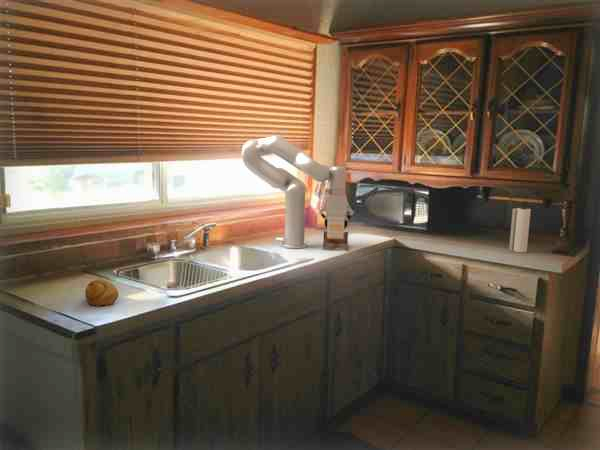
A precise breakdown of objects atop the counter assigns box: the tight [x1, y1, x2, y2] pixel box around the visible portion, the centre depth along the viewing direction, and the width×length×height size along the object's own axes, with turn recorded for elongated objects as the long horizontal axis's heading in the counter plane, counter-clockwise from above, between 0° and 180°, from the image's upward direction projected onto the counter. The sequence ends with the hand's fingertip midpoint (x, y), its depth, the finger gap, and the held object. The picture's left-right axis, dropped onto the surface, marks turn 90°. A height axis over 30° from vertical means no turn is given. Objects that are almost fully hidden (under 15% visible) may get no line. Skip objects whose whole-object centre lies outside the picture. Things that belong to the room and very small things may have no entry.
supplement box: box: [326, 215, 345, 240], centre depth 260 cm, size 8×5×13 cm, turn 85°
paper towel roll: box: [508, 207, 531, 254], centre depth 263 cm, size 7×6×21 cm
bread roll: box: [84, 278, 119, 307], centre depth 172 cm, size 13×10×8 cm
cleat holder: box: [322, 230, 349, 252], centre depth 262 cm, size 12×12×7 cm
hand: (335, 227), depth 261 cm, fingers closed on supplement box, 8 cm apart
